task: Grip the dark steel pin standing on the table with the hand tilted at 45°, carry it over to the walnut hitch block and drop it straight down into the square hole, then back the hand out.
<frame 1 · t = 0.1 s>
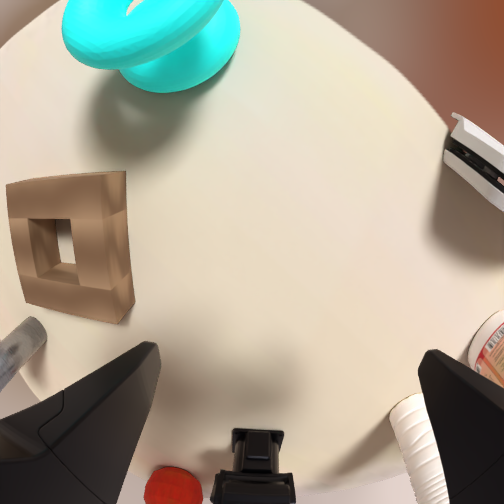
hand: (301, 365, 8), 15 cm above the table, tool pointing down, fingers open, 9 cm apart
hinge: (495, 180, 19), on the table
steel pin: (36, 329, 27), on the table
apple: (178, 471, 37), on the table
donuts: (180, 42, 17), on the table
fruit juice: (490, 337, 25), on the table
water bottle: (404, 411, 29), on the table
hitch block: (76, 237, 23), on the table
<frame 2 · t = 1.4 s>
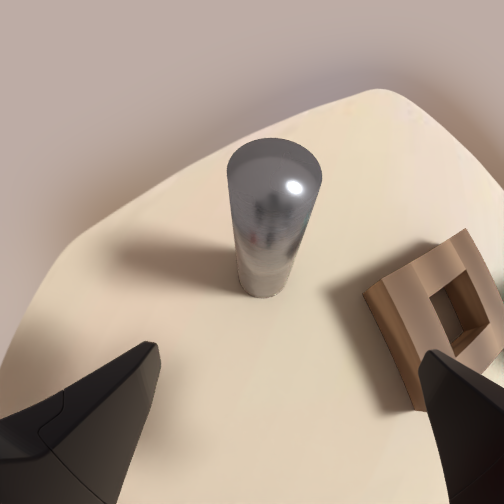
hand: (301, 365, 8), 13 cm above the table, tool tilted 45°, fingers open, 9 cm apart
steel pin: (263, 274, 23), on the table
hitch block: (437, 321, 21), on the table
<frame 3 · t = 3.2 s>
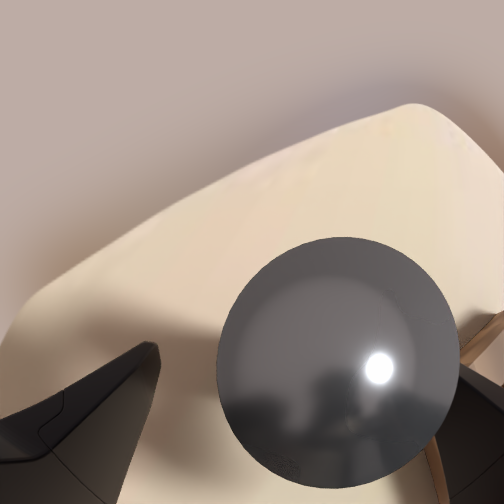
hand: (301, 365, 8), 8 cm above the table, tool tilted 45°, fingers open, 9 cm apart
steel pin: (276, 376, 15), on the table
hitch block: (480, 411, 13), on the table
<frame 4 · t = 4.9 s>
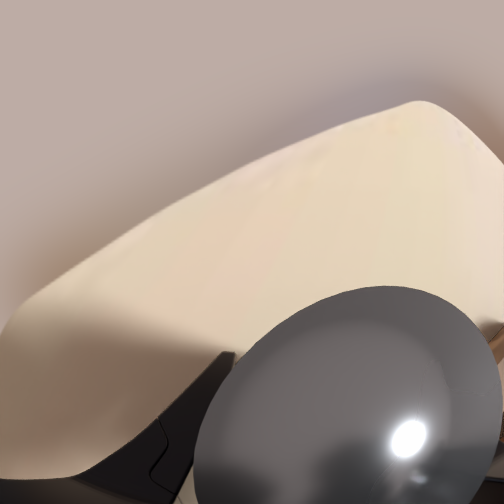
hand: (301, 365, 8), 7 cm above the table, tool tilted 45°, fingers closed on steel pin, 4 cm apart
steel pin: (277, 395, 14), on the table, touching gripper
hitch block: (487, 424, 11), on the table
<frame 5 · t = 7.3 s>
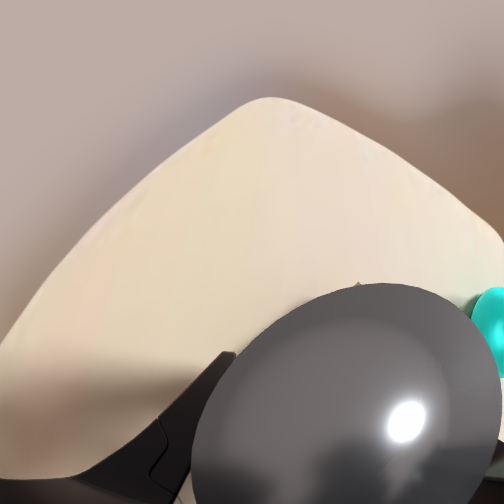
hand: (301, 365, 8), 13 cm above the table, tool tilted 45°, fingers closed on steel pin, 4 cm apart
steel pin: (277, 394, 14), point 6 cm above the table, touching gripper
donuts: (491, 335, 21), on the table
when the fingers open (8 cm above the table, at t = 9.9 s): steel pin drops 1 cm, resting in hitch block.
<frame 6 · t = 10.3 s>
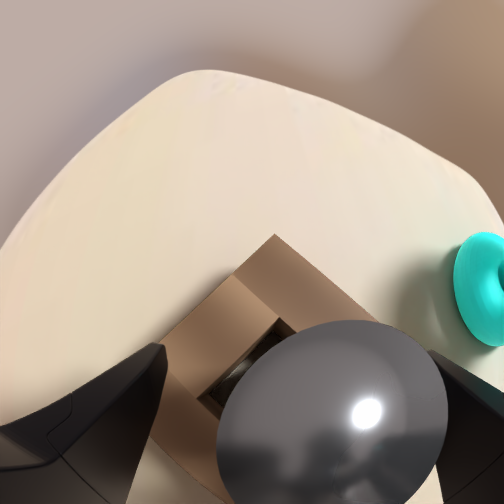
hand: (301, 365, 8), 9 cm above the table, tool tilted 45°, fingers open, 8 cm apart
steel pin: (273, 394, 15), resting in hitch block
donuts: (483, 293, 18), on the table
hitch block: (274, 393, 15), on the table
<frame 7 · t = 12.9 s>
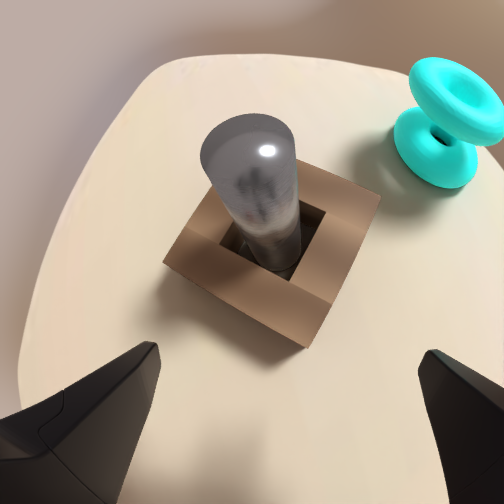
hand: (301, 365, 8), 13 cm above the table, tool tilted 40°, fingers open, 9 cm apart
steel pin: (277, 247, 23), resting in hitch block
donuts: (432, 154, 24), on the table
hitch block: (277, 246, 23), on the table
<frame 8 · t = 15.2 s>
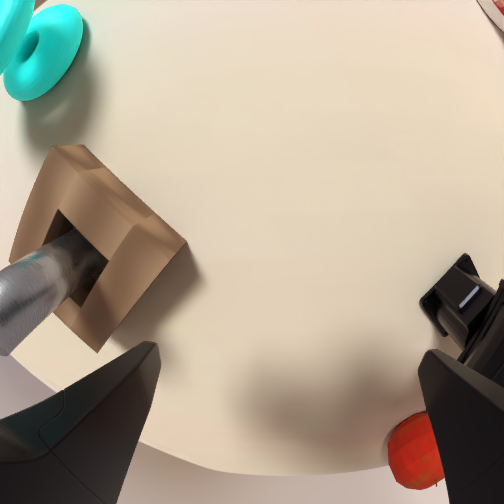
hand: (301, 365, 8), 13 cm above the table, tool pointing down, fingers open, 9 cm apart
steel pin: (95, 245, 21), resting in hitch block
apple: (412, 422, 28), on the table
donuts: (50, 54, 15), on the table
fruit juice: (496, 6, 10), on the table
hitch block: (94, 244, 21), on the table
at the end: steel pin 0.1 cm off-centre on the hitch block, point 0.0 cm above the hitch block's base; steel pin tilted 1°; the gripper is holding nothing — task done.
